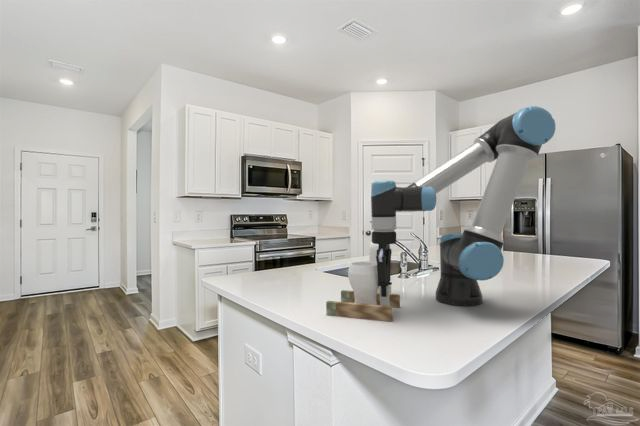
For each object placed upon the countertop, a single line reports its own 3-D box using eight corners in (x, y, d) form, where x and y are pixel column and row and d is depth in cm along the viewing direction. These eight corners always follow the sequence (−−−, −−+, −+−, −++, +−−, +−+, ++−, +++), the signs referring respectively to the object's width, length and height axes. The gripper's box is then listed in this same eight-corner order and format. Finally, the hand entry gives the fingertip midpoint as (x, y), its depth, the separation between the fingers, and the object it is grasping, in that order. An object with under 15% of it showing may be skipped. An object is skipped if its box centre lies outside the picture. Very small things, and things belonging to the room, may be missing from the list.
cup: (381, 305, 113) (380, 260, 113) (384, 316, 103) (383, 266, 103) (349, 305, 114) (348, 261, 114) (348, 315, 104) (347, 266, 104)
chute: (400, 306, 112) (399, 294, 112) (391, 321, 98) (391, 307, 98) (342, 301, 120) (342, 290, 120) (326, 314, 105) (326, 301, 105)
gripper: (376, 229, 113) (377, 299, 114) (367, 232, 101) (368, 311, 102) (399, 229, 111) (400, 301, 111) (392, 232, 98) (393, 313, 99)
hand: (384, 306), depth 106 cm, fingers closed
